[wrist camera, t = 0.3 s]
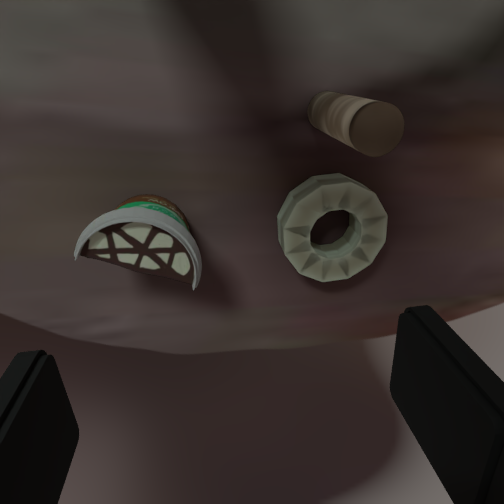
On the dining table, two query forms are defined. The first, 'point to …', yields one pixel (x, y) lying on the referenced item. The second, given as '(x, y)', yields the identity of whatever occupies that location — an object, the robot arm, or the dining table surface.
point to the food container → (144, 239)
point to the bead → (345, 248)
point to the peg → (357, 122)
